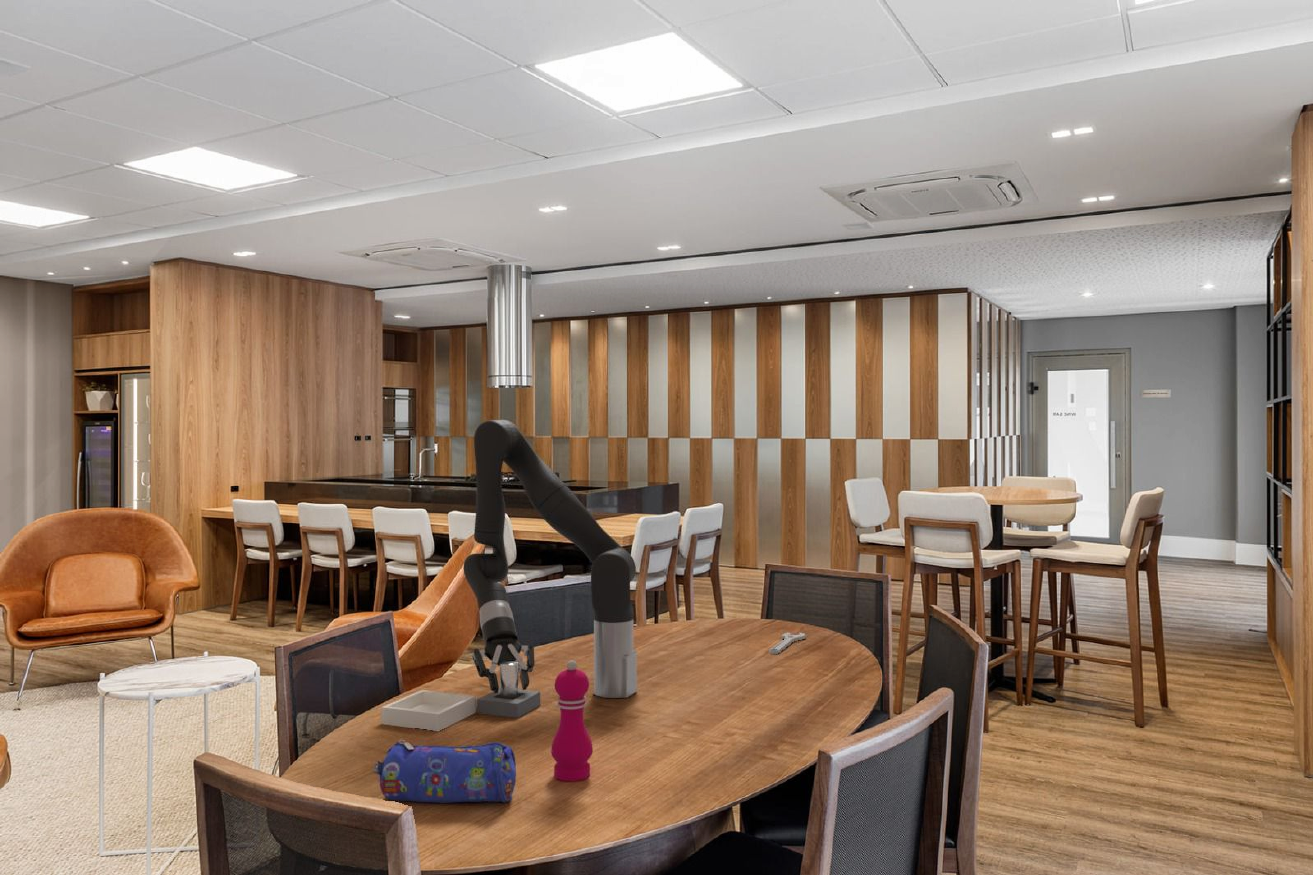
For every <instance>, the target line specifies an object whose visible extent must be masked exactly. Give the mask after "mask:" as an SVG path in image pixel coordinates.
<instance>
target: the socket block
mask: <svg viewBox="0 0 1313 875" xmlns="http://www.w3.org/2000/svg"><path fill="white" fill-rule="evenodd" d="M539 706H541V691H537V690H528V689H526V690H523V689H519V688H518V698H516V699H514V700H512V699H503V698H500V687H499V690H498V693H494V691H492V692H489V693H487V694H485V695H482V696H481V697H478V698H476V713H477V714H481V715H482V714H483V715H490V716H497V717H505V718H514V719H518V718H521V717H522V716H524V715H525V714H527V713H530V712H531V711H532V710H535V709H536V708H538V707H539Z"/></svg>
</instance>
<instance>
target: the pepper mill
mask: <svg viewBox="0 0 1313 875" xmlns="http://www.w3.org/2000/svg"><path fill="white" fill-rule="evenodd" d="M577 667H578V664H577V662H576V661H575V660H569V661H568V662H567V663H566V668H567V669H564V670H562V671H560V673H558V674H557V676H556V678H555V679H554V690H555V693H557V695H558V696H559V697H558V698H557V707H559V710H560V720H559V725H558V729H557V731H556V733H555V735H554V737H553V740H552V743H551V751H550V752H551V757H552V758H553V760H554V761H555V764H554V765H553V776H554V778H555V779H557V780H559V781H562V782H579V781H583V780H586V779H587V778H589V777H590V774H591V765H590V762H589V759H590V758H591V757H592V755H593V752H594V750H593V743H592V738H591V737H590V734H589V732H588V730H587V728H586V725H585V719H584V709H585V707H586V705H587V702H586V701H587V697H586V696H585V695H586V694H587V692H588V691H589V688H590V681H589V678H588V676H587V674H586V672H584V671H582V670H581V669H578V668H577Z"/></svg>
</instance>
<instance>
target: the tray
mask: <svg viewBox="0 0 1313 875" xmlns="http://www.w3.org/2000/svg"><path fill="white" fill-rule="evenodd" d="M476 713H477V695H472V694H462V693H454V692H453V693H452V692H451V693H450V692H443V691H436V690H435V691H434V690H425V689H421V690H419V691H416V692H414V693H411V694H409V695H407V696H405V697H402V698H400V699H397V700H396V701H395V700H394V701H393V702H390V703H388V704H386V705H384V706H381V725H386V726H393V727H400V728H401V727H402V728H409V729H415V728H420V729H419V730H422V729H427V730H426V731H430V730H433V731H432V732H438V733H439V732H440V730H441V731H442V729H443V730H444V728H445V729H447V728H449V727H450V726H452V725H454V724H457V723H458V722H460V721H462V720H464V719H466V718H469V717H470V716H472V715H474V714H476Z"/></svg>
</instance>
